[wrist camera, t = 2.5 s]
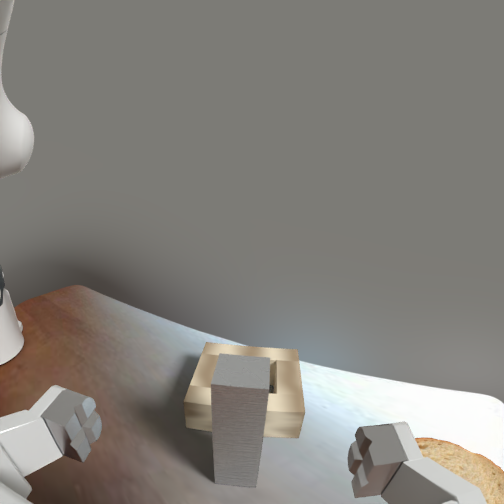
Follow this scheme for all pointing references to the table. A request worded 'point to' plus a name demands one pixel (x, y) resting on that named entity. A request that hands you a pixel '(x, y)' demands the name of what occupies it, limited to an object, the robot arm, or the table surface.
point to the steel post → (239, 417)
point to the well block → (279, 403)
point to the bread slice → (466, 467)
